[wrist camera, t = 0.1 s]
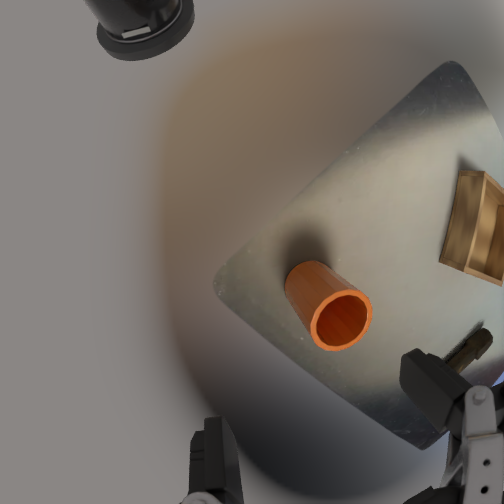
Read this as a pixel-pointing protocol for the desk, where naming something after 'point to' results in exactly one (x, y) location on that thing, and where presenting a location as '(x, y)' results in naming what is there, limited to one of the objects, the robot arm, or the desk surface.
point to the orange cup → (328, 305)
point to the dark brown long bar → (472, 350)
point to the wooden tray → (476, 228)
